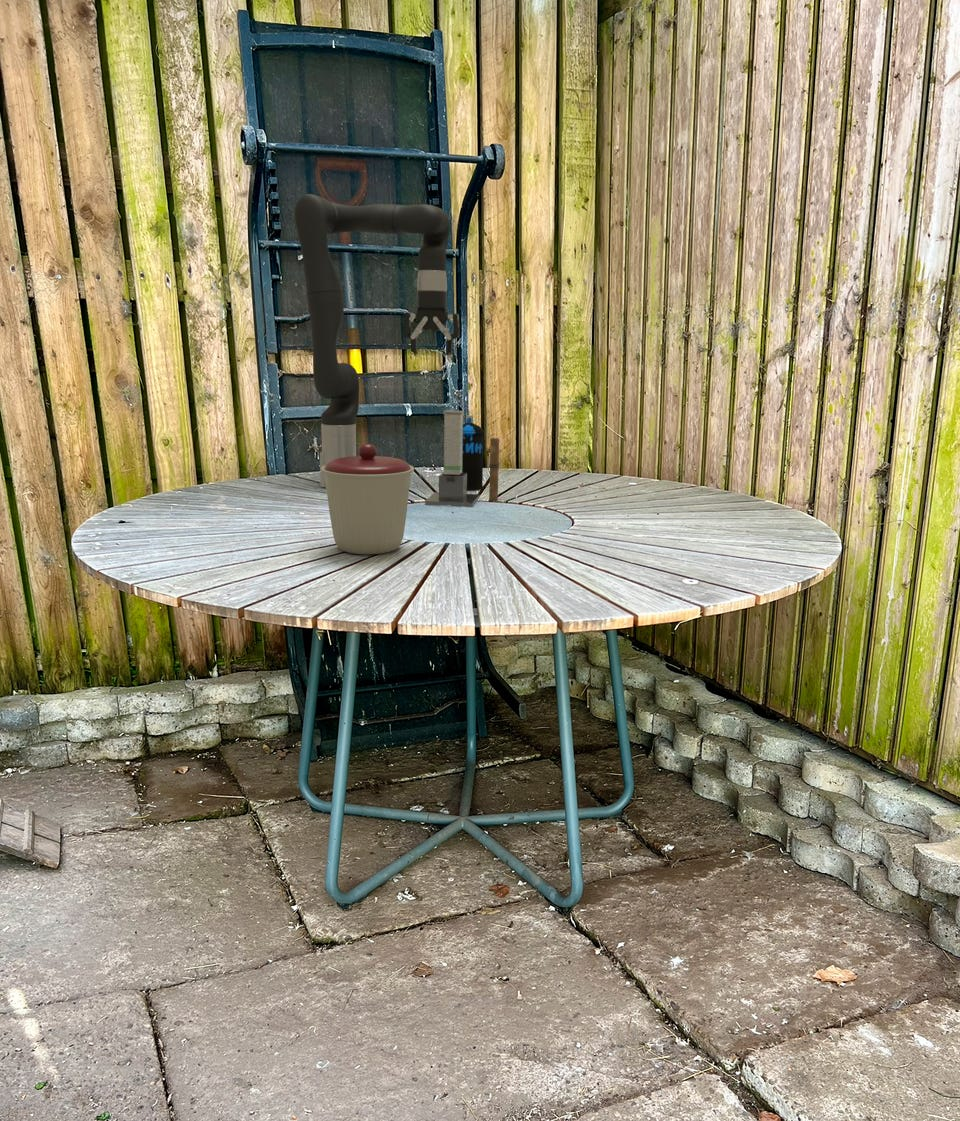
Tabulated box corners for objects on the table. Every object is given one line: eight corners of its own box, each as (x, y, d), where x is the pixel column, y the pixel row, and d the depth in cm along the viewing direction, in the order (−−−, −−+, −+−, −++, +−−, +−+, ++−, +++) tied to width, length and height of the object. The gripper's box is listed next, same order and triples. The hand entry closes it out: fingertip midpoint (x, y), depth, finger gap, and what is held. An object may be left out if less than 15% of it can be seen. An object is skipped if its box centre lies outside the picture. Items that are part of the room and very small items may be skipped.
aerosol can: (454, 485, 252) (455, 413, 247) (483, 486, 252) (485, 414, 247) (452, 490, 244) (453, 416, 239) (482, 491, 244) (484, 417, 239)
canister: (305, 547, 179) (301, 442, 174) (376, 534, 191) (375, 435, 186) (360, 565, 167) (358, 452, 161) (432, 550, 179) (433, 445, 174)
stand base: (425, 504, 224) (425, 477, 222) (434, 496, 235) (434, 469, 233) (472, 507, 222) (472, 479, 220) (479, 498, 234) (479, 471, 232)
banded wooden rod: (488, 500, 230) (490, 438, 226) (489, 499, 232) (491, 437, 228) (497, 501, 230) (498, 439, 226) (498, 499, 232) (499, 438, 228)
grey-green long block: (442, 474, 225) (443, 411, 221) (445, 471, 229) (446, 410, 225) (460, 475, 224) (461, 412, 220) (463, 472, 229) (464, 410, 225)
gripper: (401, 288, 225) (401, 354, 229) (457, 289, 223) (456, 355, 228) (407, 289, 232) (408, 353, 237) (461, 290, 231) (461, 355, 235)
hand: (431, 354), depth 232 cm, fingers open, 8 cm apart
